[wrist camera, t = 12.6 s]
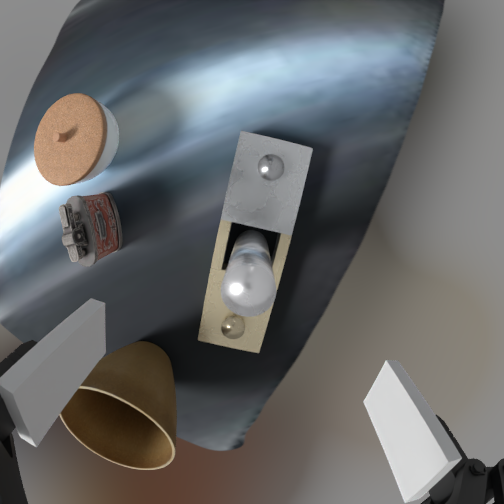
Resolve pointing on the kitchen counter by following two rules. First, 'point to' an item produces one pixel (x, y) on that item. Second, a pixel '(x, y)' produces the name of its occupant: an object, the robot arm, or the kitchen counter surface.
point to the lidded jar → (75, 140)
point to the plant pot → (127, 408)
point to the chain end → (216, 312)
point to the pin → (249, 276)
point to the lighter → (90, 227)
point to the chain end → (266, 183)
